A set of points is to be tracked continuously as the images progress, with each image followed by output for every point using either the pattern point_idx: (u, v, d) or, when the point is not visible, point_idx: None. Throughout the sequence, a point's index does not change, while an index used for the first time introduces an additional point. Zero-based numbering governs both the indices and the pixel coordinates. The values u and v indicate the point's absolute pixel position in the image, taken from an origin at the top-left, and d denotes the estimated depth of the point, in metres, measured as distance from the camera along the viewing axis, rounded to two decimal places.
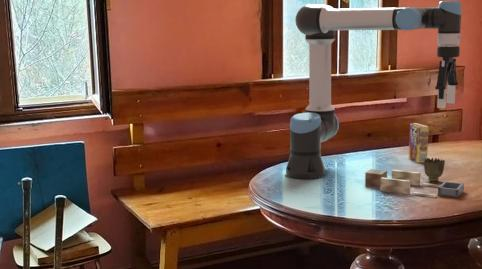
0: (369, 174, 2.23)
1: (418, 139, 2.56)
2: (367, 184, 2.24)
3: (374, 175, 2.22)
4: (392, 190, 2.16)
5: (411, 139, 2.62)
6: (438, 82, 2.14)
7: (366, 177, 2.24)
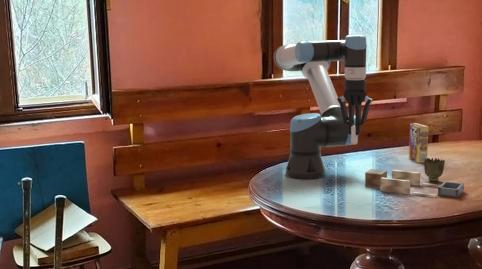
0: (369, 174, 2.23)
1: (418, 139, 2.56)
2: (367, 184, 2.24)
3: (374, 175, 2.22)
4: (392, 190, 2.16)
5: (411, 139, 2.62)
6: None
7: (366, 177, 2.24)
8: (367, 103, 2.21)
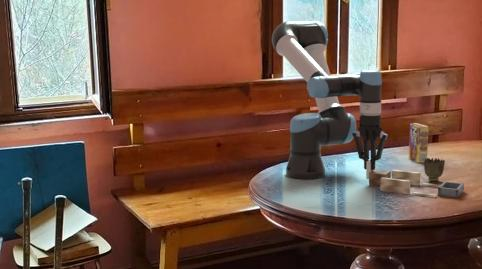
0: (373, 174, 2.23)
1: (418, 139, 2.56)
2: (371, 184, 2.24)
3: (378, 175, 2.22)
4: (392, 190, 2.16)
5: (411, 139, 2.62)
6: None
7: (370, 177, 2.24)
8: (382, 138, 2.20)
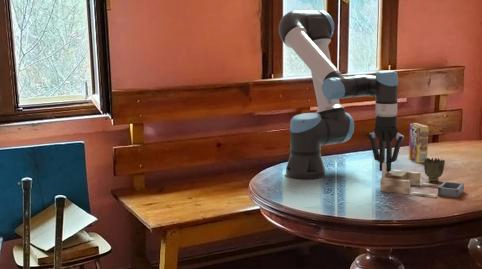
0: (389, 176, 2.20)
1: (418, 139, 2.56)
2: None
3: (394, 177, 2.19)
4: (392, 190, 2.16)
5: (411, 139, 2.62)
6: None
7: None
8: (399, 140, 2.17)
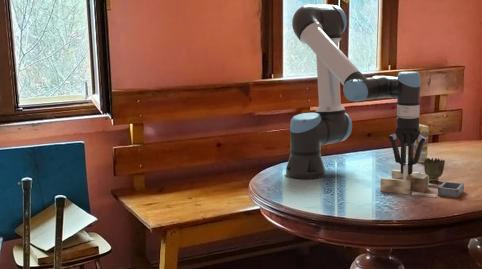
0: (410, 178, 2.16)
1: (418, 139, 2.56)
2: None
3: (416, 179, 2.15)
4: (392, 190, 2.16)
5: None
6: None
7: None
8: (421, 142, 2.13)
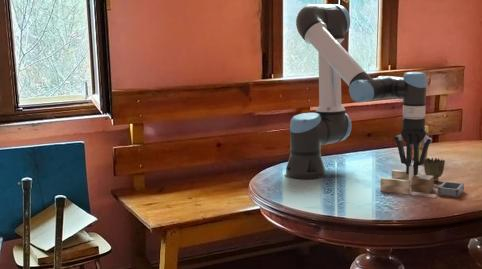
0: (416, 179, 2.15)
1: None
2: (414, 190, 2.16)
3: (421, 180, 2.14)
4: (392, 190, 2.16)
5: None
6: None
7: (412, 182, 2.16)
8: (427, 143, 2.13)
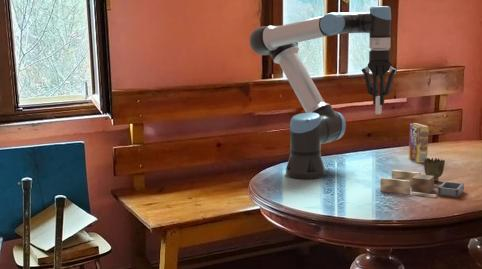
0: (416, 179, 2.15)
1: (418, 139, 2.56)
2: (414, 190, 2.16)
3: (421, 180, 2.14)
4: (392, 190, 2.16)
5: (411, 139, 2.62)
6: None
7: (413, 182, 2.16)
8: (392, 73, 2.25)
